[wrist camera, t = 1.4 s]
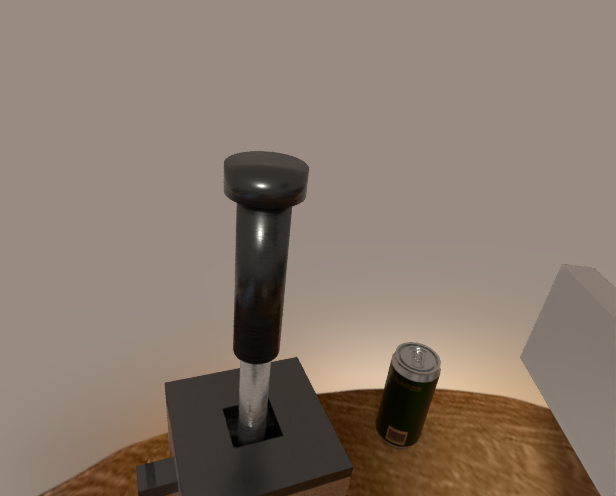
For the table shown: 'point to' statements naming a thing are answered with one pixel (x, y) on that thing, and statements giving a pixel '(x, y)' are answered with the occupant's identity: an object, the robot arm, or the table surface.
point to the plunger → (260, 271)
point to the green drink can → (407, 394)
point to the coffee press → (251, 458)
